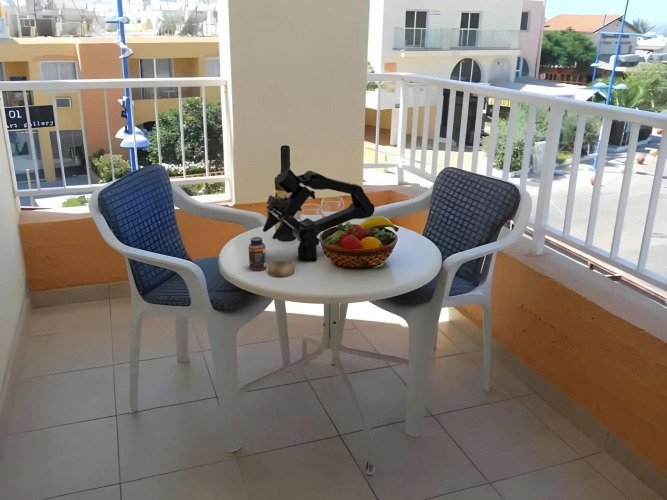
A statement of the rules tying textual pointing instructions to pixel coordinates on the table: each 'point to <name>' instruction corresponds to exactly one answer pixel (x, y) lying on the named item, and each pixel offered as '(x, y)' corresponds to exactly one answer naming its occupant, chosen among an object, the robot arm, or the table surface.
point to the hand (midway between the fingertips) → (268, 235)
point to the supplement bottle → (257, 254)
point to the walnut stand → (281, 269)
